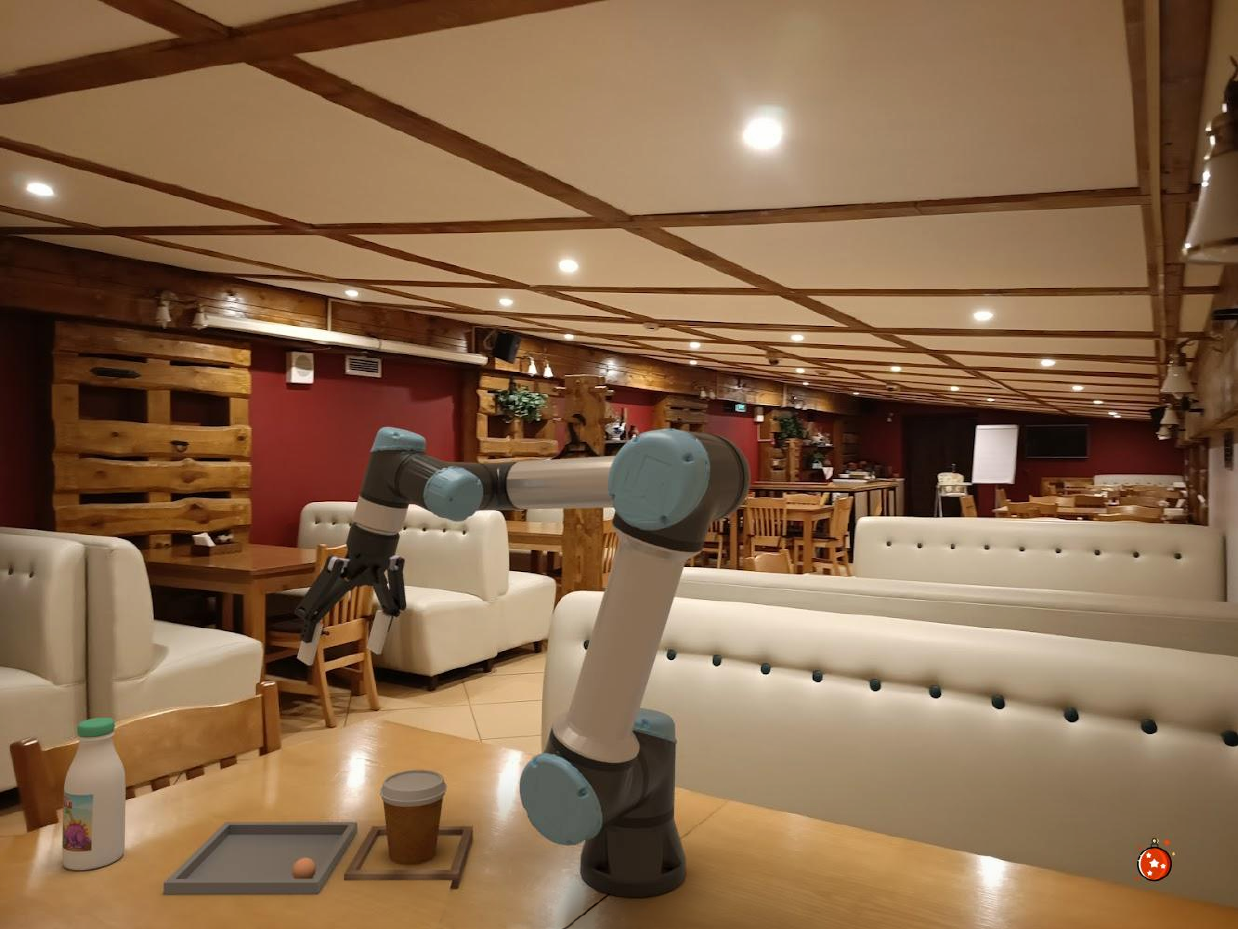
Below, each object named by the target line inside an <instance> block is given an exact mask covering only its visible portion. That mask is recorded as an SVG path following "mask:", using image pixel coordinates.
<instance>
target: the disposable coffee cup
mask: <svg viewBox="0 0 1238 929" xmlns="http://www.w3.org/2000/svg"><path fill="white" fill-rule="evenodd" d="M444 778H445V777H444V776H443V774H441V773H440V772H437V771H433V770H429V769H407V770H404V771H403V770H402V771H398V772H395V773H392V774H391V775H389V776H387V777H386V778H384V780H383V783H382V787H381V788H380V789H379V795H380V796H381V800H382V802H383V811H384V821H385V826H386V831H387V835H386V839H387V849H388V857H389V860H390V861H391V862H393V863H394V864H397V865H401V866H403V865H404V866H413V865H414V866H415V865H420V864H423V863H425V862H429V861H430V860H431V859H433V858H434V857H435V855H436V852H437V844H438V836H439V835H438V831H439V826H440V822H441V816H442V810H443V808H442V807H443V800H444V796H445V795H446V792H447V789H448V786H447V783H446V782H445V779H444Z"/></svg>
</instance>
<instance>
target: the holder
mask: <svg viewBox="0 0 1238 929" xmlns="http://www.w3.org/2000/svg"><path fill="white" fill-rule="evenodd" d="M379 836H387V831H386V825H383V826H382V825H381V826H380V825H379V826H378V825H374V826H373V825H372V827H371V829H370V830H369V831H368V833H367V835H366V837H365V838H364V840H363V841H362V843H361V845H360V847H359V848H358V850H357V852H356V853H355V855H354V857H353V858H352V860H351V861H350V863H349V865H348V866H347V868H346V870H345V872H344V873H343V880H344V881H451V883H450V886H449V889H450V890H451V889H458V888H459V885H460V881H461V878H462V876H461V875H463V872H464V870H465V865H466V863H465V862H467V858H468V855H469V852H470V850H469V849H471V846H472V842H473V840H474V839H473V837H474V826H472V825H471V826H470V825H468V826H467V825H463V826H461V825H460V826H459V825H454V826H453V825H452V826H451V825H450V826H449V825H442V826H441V825H439V831H438V836H461V838H460V840H459V844H458V847H457V850H456V852H455V856H454V858H453V861H452V865H451V866H450V869H361V867H362V866H363V863H364V861H365V860H366V858H367V857H368V855H369V853H370V851H371V849H372V847H373V846H374V844H375V842H376V840H377V839H378V838H379Z"/></svg>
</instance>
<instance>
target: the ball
mask: <svg viewBox="0 0 1238 929" xmlns="http://www.w3.org/2000/svg"><path fill="white" fill-rule="evenodd" d="M315 871H316V865H315V863H314V861H313V860H312V859H310V858H302V859H300V860H298V861H297V862H296V863H295V864H294V866H293V870H292V874H293V877H294V878H295V879H311V878H312V877H313V876H314V874H315Z"/></svg>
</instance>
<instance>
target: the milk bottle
mask: <svg viewBox="0 0 1238 929" xmlns="http://www.w3.org/2000/svg"><path fill="white" fill-rule="evenodd" d="M115 726H116V725H115V719H114V718H111V717H95V718H90V719H89V718H88V719H86V720H82V721H81V722H79V723H78V725H77V730H76V731H77V732H76V733H77V740H78V747H77V751H76V754H75V755H74V758H73V760H72V762H71V764H70V766H69V767H68V770H67V772H66V776H65V779H64V787H63V799H62V802H63V805H62V806H63V807H62V839H61V841H62V843H61V845H62V848H61V851H62V852H61V853H62V854H61V860H62V861H61V862H62V865H63V867H65V868H66V869H68V870H72V871H85V870H86V871H88V870H92V869H93V870H94V869H98V868H102V867H105V866H107V865H110V864H112V863H114V862H117V860H119V859H120V858H121V857H122V856H123V854H124V852H125V849H126V848H125V847H126V846H125V844H126V841H125V840H126V791H127V790H126V789H127V788H126V772H125V768H124V764H123V761H122V760H121V758H120V756H119V754H118V752H117V750H116V747H115V745H114V741H113V737H114V735H115Z"/></svg>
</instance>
